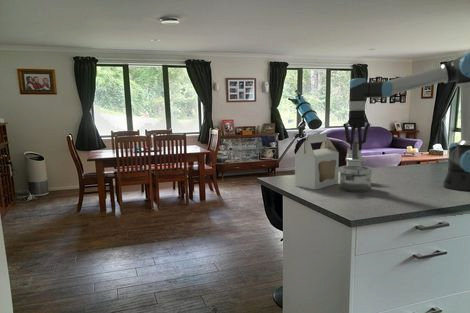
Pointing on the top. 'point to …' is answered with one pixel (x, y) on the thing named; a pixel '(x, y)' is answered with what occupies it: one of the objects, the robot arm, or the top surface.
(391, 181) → the top surface
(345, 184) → the pot
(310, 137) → the gable box
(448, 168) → the robot arm
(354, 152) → the lid
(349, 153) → the milk carton
